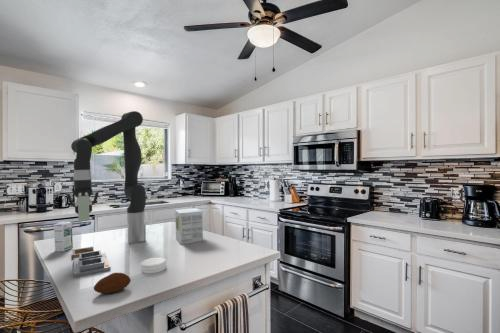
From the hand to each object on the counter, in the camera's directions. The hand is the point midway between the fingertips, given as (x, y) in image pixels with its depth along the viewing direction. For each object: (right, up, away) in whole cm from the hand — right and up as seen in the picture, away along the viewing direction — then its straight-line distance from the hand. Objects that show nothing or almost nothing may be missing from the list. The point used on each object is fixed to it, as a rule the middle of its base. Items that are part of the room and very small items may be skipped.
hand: (83, 212), depth 135 cm
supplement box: (+48, -20, +23) cm, 57 cm away
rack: (+13, -21, -16) cm, 29 cm away
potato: (+35, -21, -40) cm, 58 cm away
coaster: (+42, -21, -20) cm, 51 cm away
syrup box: (-16, -21, +9) cm, 28 cm away
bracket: (0, -21, 0) cm, 21 cm away
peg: (0, -3, 0) cm, 3 cm away
